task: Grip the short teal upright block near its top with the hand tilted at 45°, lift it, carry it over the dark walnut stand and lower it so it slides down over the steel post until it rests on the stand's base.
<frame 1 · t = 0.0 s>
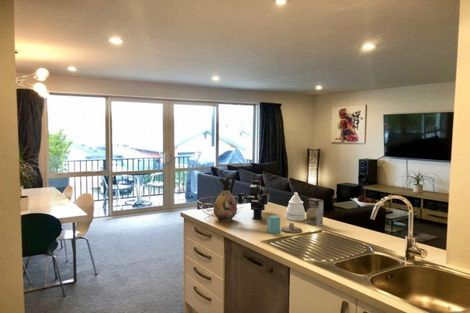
hand: (250, 201, 210), 17 cm above the worktop, tool horizontal, fingers open, 9 cm apart
coffee box: (314, 224, 222), on the worktop
post stand: (291, 230, 206), on the worktop
teal upright block: (273, 231, 203), on the worktop
ceramic jug: (226, 220, 229), on the worktop
honey pot: (295, 218, 237), on the worktop
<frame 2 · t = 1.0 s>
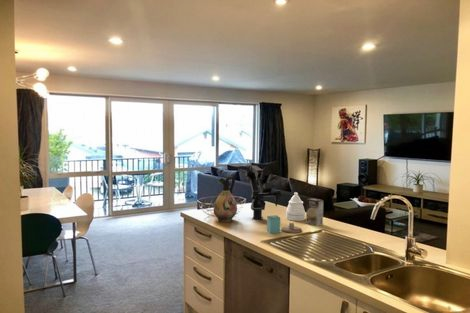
hand: (269, 206, 210), 14 cm above the worktop, tool tilted 45°, fingers open, 9 cm apart
nothing on the worktop moved.
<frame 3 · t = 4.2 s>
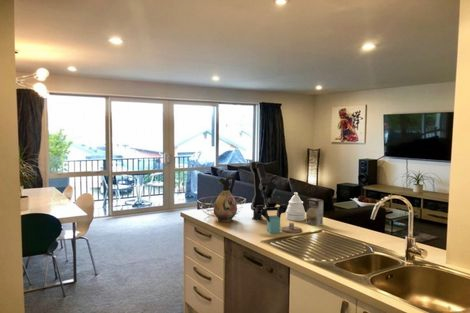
hand: (274, 221, 201), 7 cm above the worktop, tool tilted 45°, fingers closed on teal upright block, 6 cm apart
teal upright block: (273, 231, 203), on the worktop, touching gripper
everything else where it was.
when the fingers open (9 cm above the worktop, at t = 10.9 s): teal upright block stays where it is, resting on post stand.
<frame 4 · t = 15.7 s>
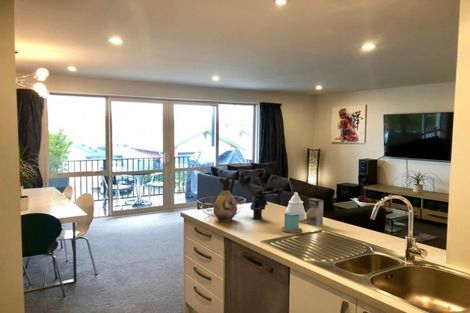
hand: (273, 204, 216), 14 cm above the worktop, tool tilted 45°, fingers open, 9 cm apart
teal upright block: (291, 228, 206), point 1 cm above the worktop, touching post stand
everything else where it was.
at the end: teal upright block 0.0 cm from the post stand (horizontally); teal upright block point 1.0 cm above the worktop; teal upright block tilted 0° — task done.
